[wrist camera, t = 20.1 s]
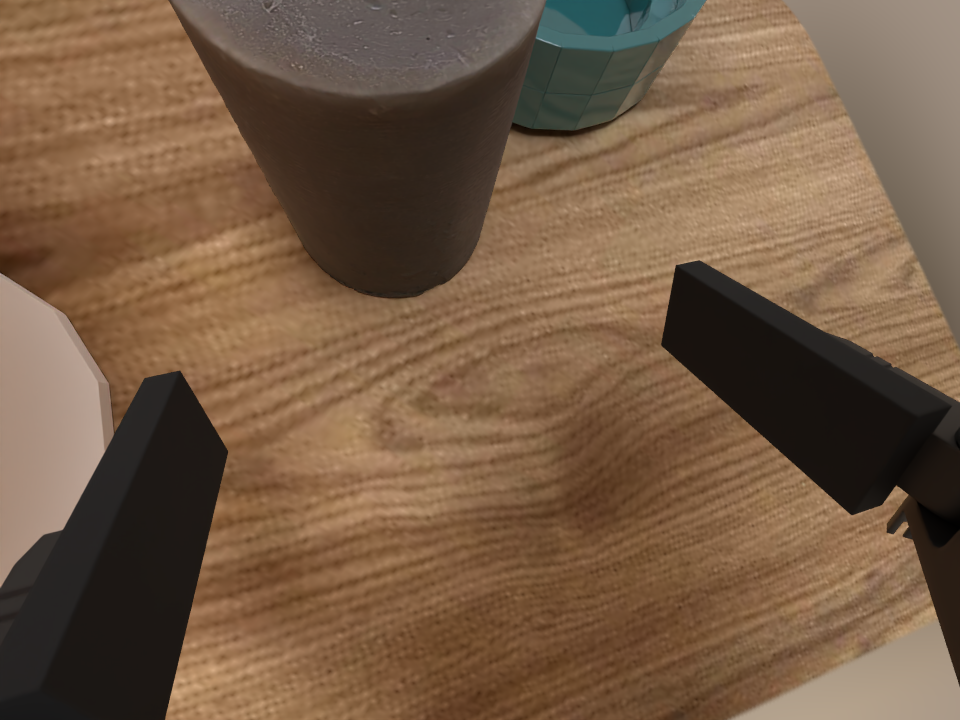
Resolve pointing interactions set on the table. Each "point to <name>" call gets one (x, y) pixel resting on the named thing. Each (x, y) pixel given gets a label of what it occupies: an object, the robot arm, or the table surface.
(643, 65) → the bowl
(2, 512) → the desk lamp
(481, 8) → the pillar candle
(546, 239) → the table surface
